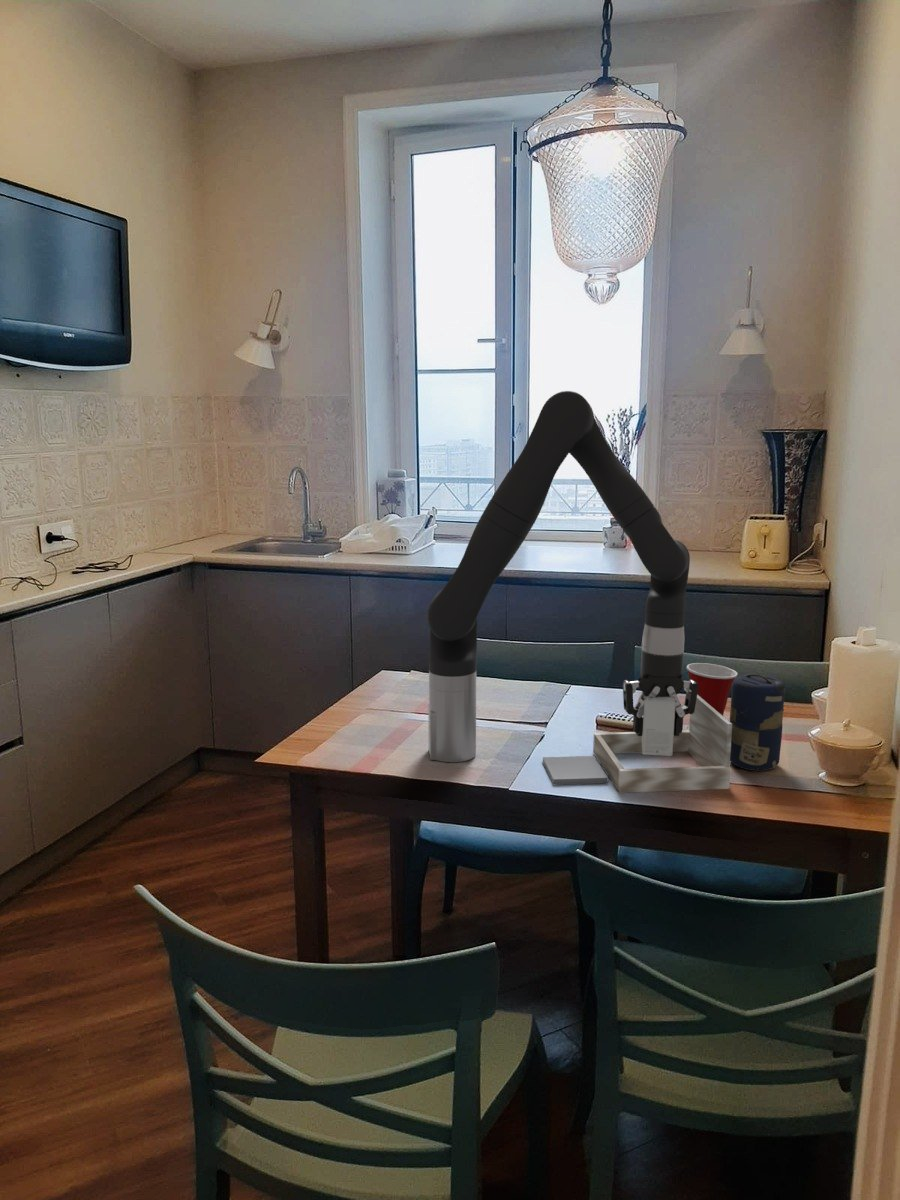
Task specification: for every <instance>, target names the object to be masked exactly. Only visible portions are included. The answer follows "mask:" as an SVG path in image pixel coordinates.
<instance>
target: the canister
mask: <svg viewBox="0 0 900 1200" xmlns="http://www.w3.org/2000/svg"><path fill="white" fill-rule="evenodd" d="M785 694H786V686H785V683H784V681H782V680H780V679H779V678H777V677H774V676H769V675H763V674H760V673H758V674H757V673H749V674H741V675H737V677H735V678H734V680H733V683H732V685H731V697H730V698H731V699H730V711H729V722H730V723H732V737H731V753H730V763H732V764H733V765H734V766H737V768H741V769H744V770H750V771H768V770H772V769H774V768H776V767H777V766H778V765H779V763H780V759H781V746H782V738H783V737H782V736H783V720H784V718H783V716H784V707H785V705H784V704H785V696H786V695H785Z"/></svg>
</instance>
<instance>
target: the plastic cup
mask: <svg viewBox="0 0 900 1200" xmlns="http://www.w3.org/2000/svg"><path fill="white" fill-rule="evenodd" d="M686 670H687V671H688V673H687V674H688V677H689V680H693V681H695V682H696V683H697V684H698V685H699V687H698V693H697V695H699V696H700V697H701V698H702V699H703V700H704V701H706V702H707V703H708V704H709V705H710V706H712V707H713V708H714V709H715V710H716V711H717V712H719V713H720V714H721V715H722V716H723V717H724V713H725V709H726V707H727V703H728V700H729V696H730V691H731V688H732V683H733V680H734V679H735V678H736V677H738V672H737V671H736V670H734V669H732V668H729V667H727V666H724V665H719V664H714V663H708V662H707V663H704V662H696V663H695V662H693V663H689V664H687V665H686ZM689 680H688V681H689Z"/></svg>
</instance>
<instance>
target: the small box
mask: <svg viewBox="0 0 900 1200" xmlns="http://www.w3.org/2000/svg"><path fill="white" fill-rule="evenodd" d="M644 700H645V703H644V714H643V716H642V717H643V735H642V753H641V754H642V755H648V756H649V755H650V756H663V757H673V754H674V752H673V737H674V720H675V704H676V703H675V698H674V697H673V698H670V697H655V698H646V696H645V697H644Z"/></svg>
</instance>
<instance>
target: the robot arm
mask: <svg viewBox="0 0 900 1200" xmlns="http://www.w3.org/2000/svg"><path fill="white" fill-rule="evenodd" d="M600 428H601V427H600V426H599V424H598V422H597V420H596V418H595V415H594V411H593V408H592V406H591V405H590V403H589V402H588V400H587V399H586V398H585V397H584V396H583V395H582V394H580V393H579V392H577V391H573V390H563V391H559V392H556V393H555V394H553V395H551V396H550V397H549V398H548V399H547V400H546V401H545V402H544V404H543V406H542V408H541V410H540V412H539V415H538V417H537V419H536V422H535V424H534V426H533V428H532V431H531V433H530V435H529V437H528V439H527V441H526V444H525V446H524V448H523V449H522V451H521V452H520V454H519V456H518V458H516V461H514V463H513V465H512V466H511V467H510V469H509V471H507V473H506V474H505V477H503V480H502V481H501V483H500V484H499V485H498V487H497V489H496V491H495V492H494V494H493V495H492V497H491V498H490V500H489V502H488V503H487V505H486V507H485V508H484V510H483V512H482V514H481V516H480V518H479V520H478V521H477V524H476V526H475V528H474V530H473V532H472V533H471V535H470V539H469V541H468V544H467V546H466V548H465V551H464V554H463V556H462V559H461V560H460V562H459V564H458V566H457V568H456V569H455V571H454V573H453V574H452V575H451V576H450V578H449V580H448V582H447V583H446V584H445V585H444V587H443V588H442V589H441V590H439V591H438V592H436V593H435V595H434V596H433V597H432V600H431V602H430V603H429V605H428V609H427V613H426V614H427V615H426V617H427V623H428V626H429V640H430V641H429V652H428V653H429V654H428V689H429V690H428V696H429V697H428V706H427V707H428V713H427V714H428V715H427V717H428V753H429V760H430V761H438V762H439V761H440V762H445V763H459V762H460V763H461V762H466V761H469V760H472V759H474V758H475V757H476V756H477V755H476V754H477V659H478V658H477V656H478V616H479V614H480V612H481V609H482V607H483V605H484V604H485V601H486V599H487V596H488V595H489V592H490V591H491V589H492V587H493V585H494V584H495V582H496V580H497V579H498V578H499V576H500V575H501V574H502V572H503V571H504V570H505V568H506V567H507V566H508V564H509V563H510V561H511V560H512V559H513V558H514V556H515V555H516V554H517V552H518V550H519V549H520V547H521V546H522V544H523V543H524V541H525V539H526V538H527V537H528V535H529V533H530V531H531V530H532V528H533V526H534V524H535V523H536V521H537V519H538V517H539V515H540V513H541V510H542V509H543V506H544V505H545V501H546V499H547V496H548V493H549V491H550V488H551V485H552V482H553V480H554V478H555V476H556V474H557V472H558V470H559V468H560V467H561V465H562V464H563V462H564V461H565V459H566V458H567V457H568V455H569V454H570V455H571V456H572V458H574V460H576V462H577V463H578V465H579V466H580V467H581V468H582V469H583V471H584V473H585V474H586V475H587V476H588V478H589V480H590V481H591V482H592V484H593V486H594V487H595V489H596V491H597V493H598V495H599V497H600V498H601V500H602V502H603V503H604V505H605V506H606V509H608V511H609V512H610V514H611V515H612V517H613V518H614V520H615V521H616V523H617V525H619V527H620V528H621V530H622V531H623V533H624V534H625V535H626V536H627V538H628V539H629V541H630V542H631V543H632V544H631V545H632V546H633V548H634V550H635V552H636V553H637V556H638V557H639V560H640V561H641V563H642V564H643V566H644V568H645V569H646V571H648V573H649V575H650V581H649V582H650V584H649V591H648V595H647V598H646V602H645V611H644V612H645V616H644V627H643V632H642V641H641V658H640V675H639V677H638V679H637V680H632V681H629V680H628V679H625V680H623V681H622V699H623V710H624V711H625V712H626V714H628V715H632V716H633V717H632V718H633V719H632V730H633V732H635V733H636V734H637V736H642V735H643V714H644V703H645V700H644V697H645V696H646V698H655V697H670V698H673V697H674V698H675V703H676V704H675V720H674V736H679V733H682V731H684V730H683V729H684V728H683V727H684V718H685V716H687V715H690V714H693V713H694V711H695V705H696V699H697V693H698V687H699V685H698V684H697V683H696V682H695V681H693V680H684V679H683V666H684V651H685V614H686V591H687V587H688V579H689V572H690V562H691V558H690V557H691V556H690V552H689V549H688V547H687V546H686V545H685V543H684V542H682V541H680V540H679V539H678V540H677V539H675V538H673V537H672V535H671V534H670V533H669V531H668V529H667V528H666V527H665V525H664V524H663V522H662V517H661V514H660V512H659V511H658V509H657V508H656V507H655V505H654V503H653V502H652V501H651V499H650V498H649V496H648V495H647V494H646V492H645V491H644V490H643V488H642V487H641V486H640V485H639V483H638V482H637V481H636V479H635V478H634V477H633V475H631V473H630V472H629V470H627V468H626V467H625V466H624V465H623V463H622V461H620V460H619V458H618V457H617V456H616V454H615V453H614V451H613V450H612V448H611V447H610V445H609V444H608V441H607V440H606V438H605V437H604V435H603V433H602V430H601V429H600ZM637 688H639V689H640V691H641V694H640V695H639V697H638V698H637V703H636V704H635V706H634V693H636V691H637ZM682 689H683V690H684V691H685V692H686V693H685V698H684V704H683V706H682V703H681V701H680V700H679V698H678V694H679V693H680V691H681V690H682Z"/></svg>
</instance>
